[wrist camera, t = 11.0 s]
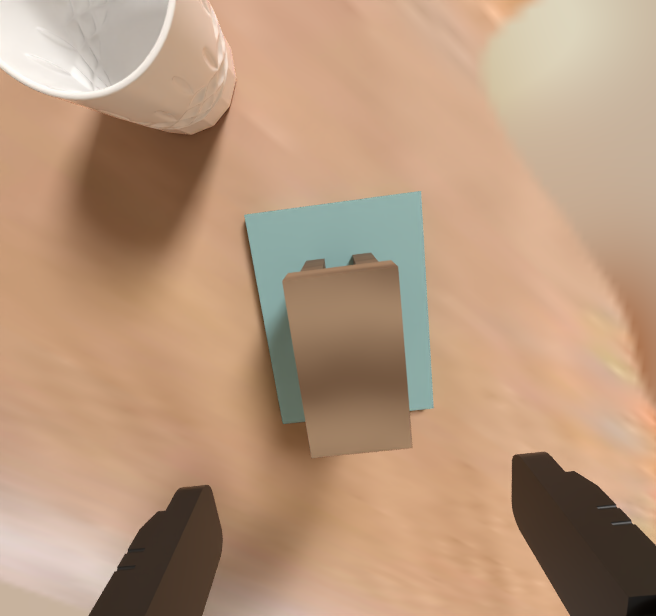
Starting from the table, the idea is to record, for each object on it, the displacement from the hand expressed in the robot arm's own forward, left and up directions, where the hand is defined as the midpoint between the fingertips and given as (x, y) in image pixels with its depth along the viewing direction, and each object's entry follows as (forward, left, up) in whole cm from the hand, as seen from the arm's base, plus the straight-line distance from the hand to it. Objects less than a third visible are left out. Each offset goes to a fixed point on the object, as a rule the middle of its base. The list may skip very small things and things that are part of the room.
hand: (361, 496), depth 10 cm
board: (0, 0, -16) cm, 16 cm away
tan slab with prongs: (0, 0, -15) cm, 15 cm away
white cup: (-8, +16, -17) cm, 25 cm away
